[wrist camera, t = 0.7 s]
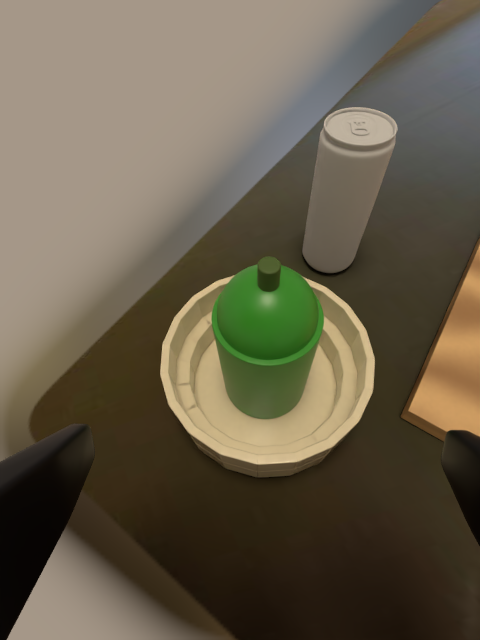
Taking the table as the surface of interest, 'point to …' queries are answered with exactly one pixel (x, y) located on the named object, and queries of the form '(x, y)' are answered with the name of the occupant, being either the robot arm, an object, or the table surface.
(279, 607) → the table surface
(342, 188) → the beverage can
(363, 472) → the table surface
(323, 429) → the bowl
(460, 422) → the cutting board
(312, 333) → the green spray can
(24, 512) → the robot arm
